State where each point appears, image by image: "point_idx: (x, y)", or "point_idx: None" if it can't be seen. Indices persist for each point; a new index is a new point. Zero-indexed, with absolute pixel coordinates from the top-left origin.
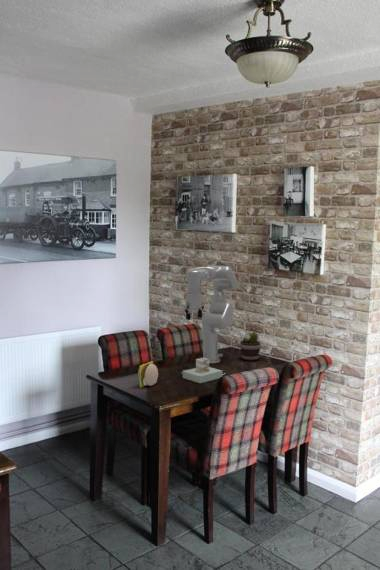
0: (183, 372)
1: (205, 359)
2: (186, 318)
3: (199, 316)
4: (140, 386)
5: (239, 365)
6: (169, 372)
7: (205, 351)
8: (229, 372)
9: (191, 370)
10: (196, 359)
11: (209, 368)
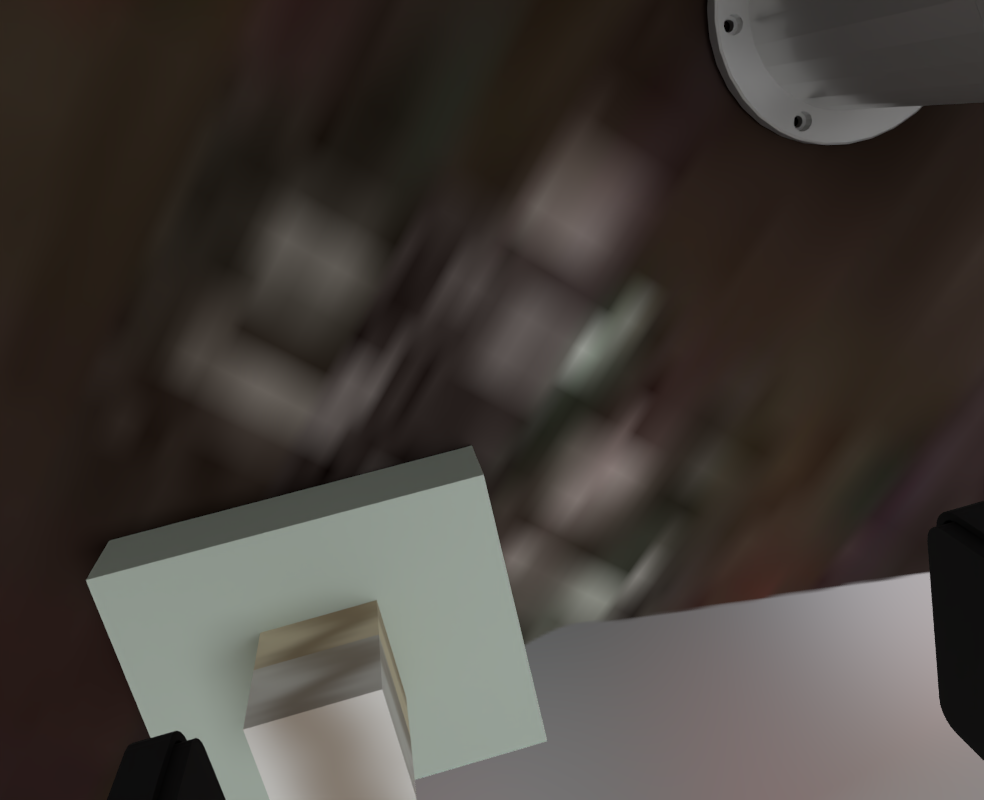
0: (95, 590)
1: (361, 793)
2: (132, 779)
3: (961, 653)
4: None
5: (976, 375)
6: (44, 235)
7: (821, 5)
8: (702, 570)
9: (215, 594)
10: (247, 736)
11: (466, 608)
